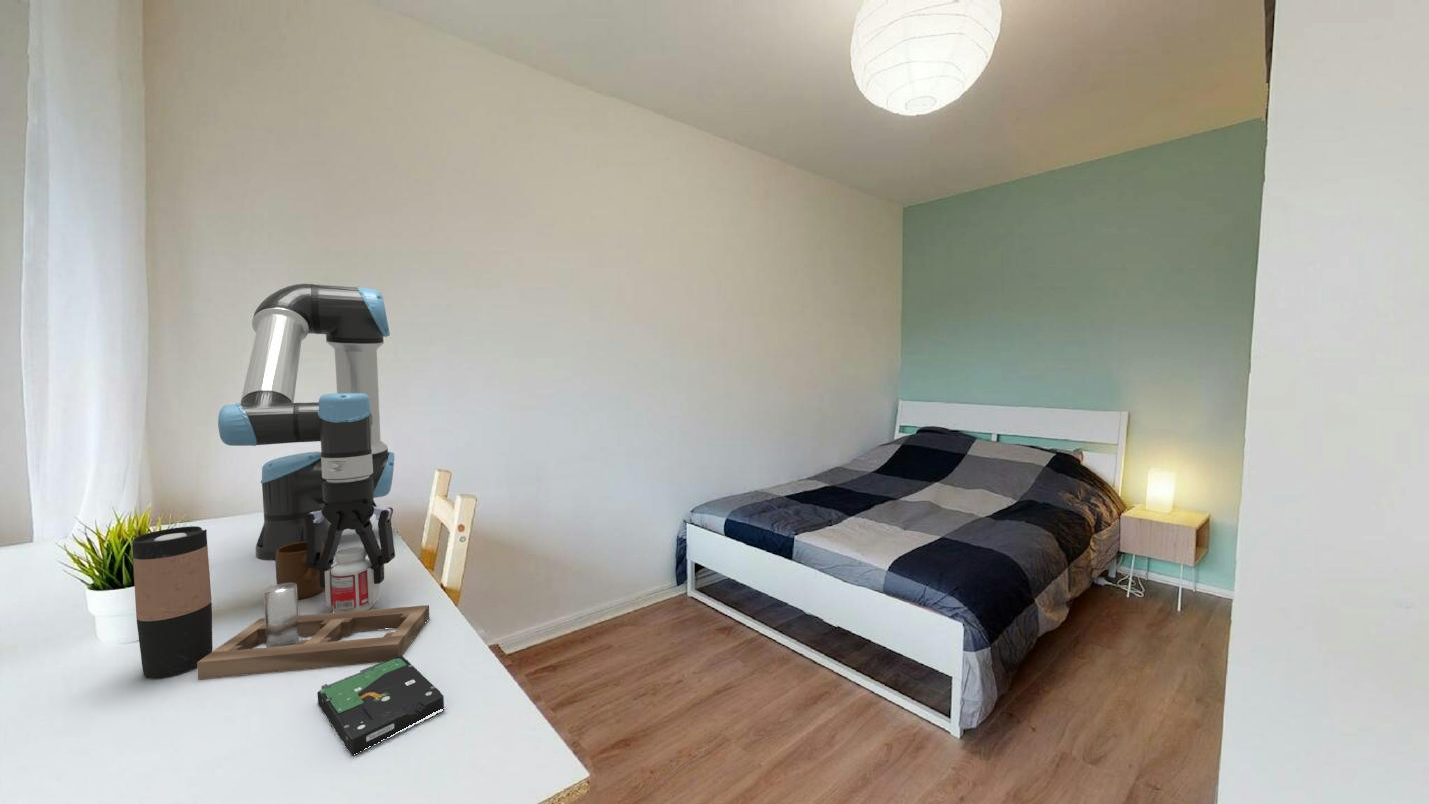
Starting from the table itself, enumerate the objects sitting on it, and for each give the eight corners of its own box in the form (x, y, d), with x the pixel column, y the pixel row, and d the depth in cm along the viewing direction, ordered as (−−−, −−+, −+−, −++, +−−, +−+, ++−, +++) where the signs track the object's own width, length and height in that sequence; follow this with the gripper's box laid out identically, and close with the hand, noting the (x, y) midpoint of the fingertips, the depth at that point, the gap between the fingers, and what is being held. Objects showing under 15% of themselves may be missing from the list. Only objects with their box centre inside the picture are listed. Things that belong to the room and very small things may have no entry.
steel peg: (277, 644, 81) (274, 583, 81) (305, 641, 82) (302, 581, 82) (260, 658, 77) (256, 594, 77) (290, 655, 78) (286, 592, 78)
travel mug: (124, 684, 71) (114, 544, 70) (167, 654, 78) (158, 528, 77) (192, 675, 73) (183, 539, 72) (227, 647, 80) (219, 524, 79)
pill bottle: (370, 598, 98) (367, 542, 97) (377, 609, 93) (375, 550, 93) (330, 609, 93) (327, 550, 93) (336, 621, 89) (333, 559, 88)
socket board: (261, 632, 85) (260, 618, 85) (429, 618, 90) (428, 605, 90) (198, 679, 72) (196, 662, 72) (398, 659, 77) (397, 643, 77)
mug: (341, 596, 98) (339, 549, 98) (292, 611, 92) (289, 561, 92) (319, 581, 105) (317, 537, 105) (272, 594, 99) (269, 548, 99)
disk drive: (446, 715, 66) (401, 670, 75) (446, 694, 66) (401, 652, 75) (352, 762, 58) (315, 706, 67) (351, 739, 57) (314, 686, 67)
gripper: (274, 484, 86) (281, 616, 88) (397, 480, 90) (402, 606, 91) (301, 475, 94) (307, 597, 95) (414, 472, 97) (418, 589, 99)
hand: (353, 601), depth 93 cm, fingers closed on pill bottle, 6 cm apart
